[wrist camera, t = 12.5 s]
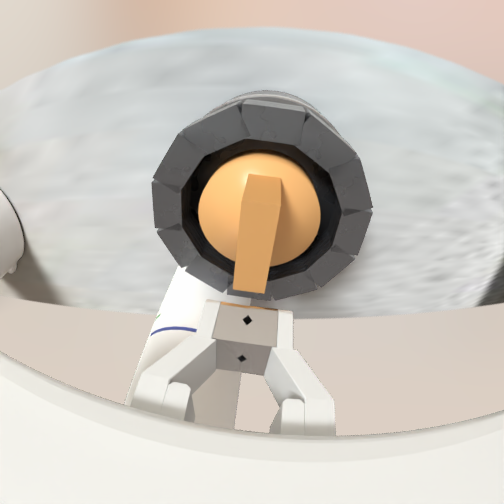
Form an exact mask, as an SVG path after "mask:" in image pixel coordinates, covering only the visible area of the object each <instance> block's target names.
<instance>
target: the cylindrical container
mask: <svg viewBox="0 0 504 504" xmlns="http://www.w3.org/2000/svg"><path fill="white" fill-rule="evenodd" d="M186 267H187V266H186ZM186 267H183V268H181V267H180V266H179V265H178V268H177V270H176V272H175V274H174V277H173V279H172V281H171V284H170V286H169V288H168V291H167V293H166V295H165V298H164V300H163V302H162V305H161V307H160V310H159V312H158V314H157V317H156V320H155V322H154V325H153V327H152V329H151V332H150V334H149V337H148V339H147V342H146V345H145V347H144V350H143V352H142V355H141V358H140V360H139V363H138V366H137V369H136V371H135V374H134V377H133V379H132V382H131V385H130V388H129V391H128V394H127V396H126V399H125V402H124V405H126V406H129V407H130V405H131V402H132V399H133V396H134V393H135V390H136V388H137V385H138V382H139V379H140V376H141V374H142V372H143V371H145V370H146V369H147V368H149V367H150V366H151V365H153V364H154V363H155V362H157V361H158V360H159V359H161V358H162V357H163V356H164V355H166V354H167V353H168V352H170V351H171V350H172V349H174V348H175V347H176V346H177V345H179V344H180V343H181V342H183V341H184V340H185V339H186V338H188V337H189V336H190V335H194V336H195V334H196V331H197V327H198V324H199V320H200V317H201V314H202V310H203V307H204V303H205V301H206V300H207V299H210V300H215V301H222V302H228V303H234V304H239V305H245V306H250V305H251V298H246V297H239V296H232V295H227V289H226V290H225V291H224V292H223V293H221V292H219V291H218V290H216V289H214V288H212V287H211V286H209V285H207V284H206V283H204V282H202V281H200V280H199V279H197V278H195V277H194V276H192V275H190V274H189V273H187V272H185V269H186ZM240 379H241V372H236V371H228V370H220V369H216V371H215V372H214V373H213V374H212V375H211V376H210V377H209V378H208V379H207V380H206V381H205V382H204V383H203V384H202V385H201V386H200V387H199V388H198V389H197V390H196V391H195V392H194V393H193V394H192V400H193V406H194V411H195V421H194V423H198V424H204V425H209V426H215V427H221V428H228V429H234V424H235V417H236V410H237V402H238V394H239V387H240Z"/></svg>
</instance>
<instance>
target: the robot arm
mask: <svg viewBox="0 0 504 504" xmlns="http://www.w3.org/2000/svg"><path fill="white" fill-rule="evenodd" d="M23 251H24V239H23V233H22V230H21V226H20V223H19V221H18V218H17V216H16V214H15V212H14V210H13V208H12V206H11V204H10V203H9V201H8V199H7V198H6V197H5V195H4V194H3V193H2V191H1V190H0V279H1V278H2V277H3V276H4V275H5V274H6V273H7V272H8V273H10V274H12V273H13V272H14V271H15V270H16V267H17V261H18V260H19V259H20V258H21V256H22V254H23ZM216 369H220V370H228V371H236V372H243V373H250V374H256V375H263V376H264V378H265V380H266V382H267V384H268V386H269V388H270V390H271V392H272V394H273V395H274V397H275V399H276V401H277V403H278V405H279V407H280V409H279V411H278V413H277V414H276V416H275V418H274V420H273V423H272V424H271V426H270V432H269V433H259V432H251V431H242V430H235V429H228V428H221V427H215V426H209V425H204V424H198V423H194V421H195V411H194V406H193V400H192V394H193V393H194V392H195V391H196V390H197V389H198V388H199V387H200V386H201V385H202V384H203V383H204V382H205V381H206V380H207V379H208V378H209V377H210V376H211V375H212V374H213V373H214V372H215V371H216ZM0 504H504V410H502V411H499V412H496V413H493V414H489V415H486V416H482V417H478V418H474V419H470V420H466V421H462V422H457V423H452V424H448V425H442V426H437V427H431V428H425V429H418V430H411V431H403V432H396V433H395V432H394V433H384V434H371V435H353V436H352V435H351V436H336V428H335V406H334V399H333V398H332V397H331V395H330V394H329V393H328V391H327V390H326V389H325V387H324V386H323V384H322V383H321V382H320V380H319V379H318V377H317V376H316V375H315V373H314V372H313V371H312V369H311V368H310V366H309V365H308V364H307V362H306V361H305V360H304V358H303V357H302V355H301V354H300V353H299V351H298V350H294V349H293V312H292V311H287V310H279V309H271V308H263V307H255V306H245V305H239V304H234V303H228V302H222V301H215V300H210V299H207V300H206V301H205V303H204V307H203V310H202V314H201V317H200V320H199V324H198V327H197V331H196V334H195V336H194V335H190V336H189V337H188V338H186V339H185V340H184V341H183V342H181V343H180V344H179V345H177V346H176V347H175V348H174V349H172V350H171V351H170V352H168V353H167V354H166V355H164V356H163V357H162V358H161V359H159V360H158V361H157V362H155V363H154V364H153V365H151V366H150V367H149V368H147V369H146V370H145V371H143V372H142V374H141V376H140V379H139V382H138V385H137V388H136V390H135V393H134V396H133V399H132V402H131V405H130V407H129V406H126V405H123V404H120V403H116V402H113V401H110V400H107V399H104V398H102V397H99V396H96V395H93V394H90V393H88V392H85V391H83V390H80V389H78V388H75V387H72V386H70V385H67V384H65V383H63V382H61V381H58V380H56V379H54V378H52V377H49V376H47V375H45V374H43V373H41V372H39V371H37V370H35V369H32V368H30V367H28V366H27V365H25V364H23V363H21V362H19V361H17V360H15V359H13V358H11V357H9V356H8V355H6V354H4V353H2V352H1V351H0Z"/></svg>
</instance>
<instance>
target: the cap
mask: <svg viewBox="0 0 504 504" xmlns="http://www.w3.org/2000/svg"><path fill="white" fill-rule="evenodd" d="M198 214H199V222H200V226H201V228H202V231H203V233H204V235H205V237H206V238H207V240H208V241H209V243H210V244H211V245H212V246H213V247H214V248H215V249H216V250H217V251H218V252H219V253H221V254H222V255H224V256H225V257H227V258H229V259H231V260H233V261H235V271H234V282H233V289H234V290H241V291H248V292H255V293H263V294H264V293H265V287H266V282H267V277H268V272H269V267H270V266H275V265H280V264H283V263H286V262H288V261H290V260H292V259H294V258H296V257H297V256H299V255H300V254H302V253H303V252H304V251H305V250H306V249H307V248H308V247H309V246H310V244H311V243H312V242H313V240H314V238H315V237H316V235H317V232H318V229H319V225H320V215H321V214H320V206H319V202H318V198H317V194H316V190H315V186H314V183H313V181H312V179H311V177H310V175H309V174H308V172H307V171H306V170H305V169H304V167H303V166H302V165H300V164H299V163H298V162H297V161H296V160H294V159H293V158H291V157H289V156H288V155H285V154H283V153H281V152H278V151H274V150H269V149H251V150H246V151H242V152H239V153H237V154H235V155H233V156H231V157H229V158H228V159H226V160H225V161H224V162H222V163H221V164H220V165H219V166H218V167H217V169H216V170H215V171H214V173H213V174H212V176H211V178H210V180H209V181H208V183H207V185H206V187H205V188H204V190H203V193H202V195H201V198H200V202H199V209H198Z"/></svg>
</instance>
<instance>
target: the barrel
mask: <svg viewBox="0 0 504 504" xmlns="http://www.w3.org/2000/svg"><path fill="white" fill-rule="evenodd" d="M251 149H269V150H274V151H278V152H281V153H283V154H285V155H288V156H289V157H291V158H293V159H294V160H296V161H297V162H298V163H299V164H300V165H302V166H303V167H304V169H305V170H306V171H307V172H308V174H309V175H310V177H311V179H312V181H313V183H314V186H315V190H316V194H317V198H318V202H319V206H320V214H321V215H320V225H319V229H318V232H317V235H316V237H315V238H314V240H313V242H312V243H311V244H310V246H309V247H308V248H307V249H306V250H305V251H304V252H303V253H302V254H300V255H299V256H297V257H296V258H294V259H292V260H290V261H288V262H286V263H283V264H280V265H275V266H270V267H269V272H268V277H267V282H266V287H265V293H264V294H263V293H255V292H248V291H241V290H234V289H233V282H234V271H235V261H233V260H231V259H229V258H227V257H225V256H224V255H222V254H221V253H219V252H218V251H217V250H216V249H215V248H214V247H213V246H212V245H211V244H210V243H209V241H208V240H207V238H206V237H205V235H204V233H203V231H202V228H201V226H200V222H199V214H198V209H199V202H200V198H201V195H202V193H203V190H204V188H205V187H206V185H207V183H208V181H209V180H210V178H211V176H212V174H213V173H214V171H215V170H216V169H217V167H218V166H219V165H220V164H221V163H222V162H224V161H225V160H226V159H228V158H229V157H231V156H233V155H235V154H237V153H239V152H242V151H246V150H251ZM153 178H154V179H155V180H154V181H153V182H152V197H153V211H154V223H155V228H159V229H158V231H157V233H158V235H159V236H160V238H161V239H162V241H163V242H164V244H165V245H166V247H167V248H168V250H169V251H170V253H171V254H172V256H173V257H174V258H175V260H176V261H177V263H178V264H179V266H180V267H181V268H183V267H186V266H187V267H186V269H185V272H187V273H189V274H190V275H192V276H194V277H195V278H197V279H199V280H200V281H202V282H204V283H206V284H207V285H209V286H211V287H212V288H214V289H216V290H218V291H219V292H221V293H223V292H224V291H225V290H226V289H227V295H232V296H239V297H246V298H254V299H261V300H269V301H270V300H271V296H273V298H274V299H275V300H279V299H283V298H287V297H291V296H294V295H298V294H302V293H306V292H309V291H313V290H317V285H319V286H320V287H322V286H324V285H325V284H326V283H327V282H329V281H330V280H331V279H332V278H333V277H335V276H336V275H337V274H338V273H339V272H340V271H342V270H343V269H344V268H345V267H346V266H348V265H349V264H350V263H351V262H352V261H353V260H354V259H355V258H354V255H358V253H359V250H360V248H361V245H362V242H363V239H364V237H365V234H366V231H367V228H368V225H369V222H370V219H371V216H372V213H373V212H372V210H371V208H373V206H372V202H371V197H370V194H369V190H368V186H367V182H366V178H365V175H364V171H363V167H362V164H361V161H360V158H359V157H358V155H357V153H356V152H355V151H354V149H353V148H352V147H351V146H350V144H349V143H348V142H347V141H346V140H344V139H343V138H342V137H341V136H340V134H339V133H338V132H337V130H336V129H335V128H334V127H333V125H332V124H331V123H330V122H329V121H328V120H327V119H326V118H325V117H324V116H323V115H322V114H321V113H320V112H319V111H318V110H316V109H315V108H314V107H313V106H312V105H310V104H309V103H307V102H306V101H304V100H302V99H300V98H298V97H296V96H294V95H291V94H288V93H284V92H279V91H270V90H263V91H254V92H249V93H245V94H242V95H239V96H237V97H235V98H233V99H231V100H229V101H227V102H225V103H224V104H222V105H220V106H218V107H216V108H215V109H213V110H212V111H210V112H209V113H208V114H206V115H205V116H204V117H203V118H201V119H199V120H197V121H195V122H193V123H191V124H190V125H189V126H187V127H186V128H184V129H183V131H181V132H180V133H179V134H178V135H177V137H176V138H175V140H174V142H173V143H172V145H171V147H170V148H169V150H168V152H167V153H166V155H165V157H164V159H163V160H162V162H161V164H160V166H159V167H158V169H157V171H156V173H155V175H154V176H153Z"/></svg>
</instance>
